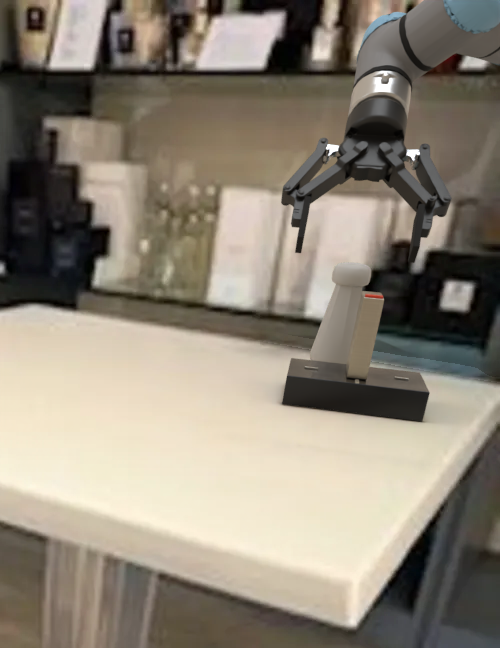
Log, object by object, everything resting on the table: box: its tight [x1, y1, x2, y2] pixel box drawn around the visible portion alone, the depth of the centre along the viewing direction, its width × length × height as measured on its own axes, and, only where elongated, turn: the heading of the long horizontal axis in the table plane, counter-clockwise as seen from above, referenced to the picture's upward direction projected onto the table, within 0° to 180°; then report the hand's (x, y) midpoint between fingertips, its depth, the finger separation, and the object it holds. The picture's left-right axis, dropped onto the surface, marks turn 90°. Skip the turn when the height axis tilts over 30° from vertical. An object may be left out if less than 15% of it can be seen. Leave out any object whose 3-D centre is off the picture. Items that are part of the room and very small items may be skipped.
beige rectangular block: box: [346, 290, 385, 380], centre depth 92 cm, size 6×2×8 cm, turn 163°
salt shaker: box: [309, 261, 372, 364], centre depth 104 cm, size 6×6×13 cm
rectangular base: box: [281, 357, 431, 422], centre depth 94 cm, size 14×11×3 cm
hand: (355, 250), depth 108 cm, fingers open, 13 cm apart
